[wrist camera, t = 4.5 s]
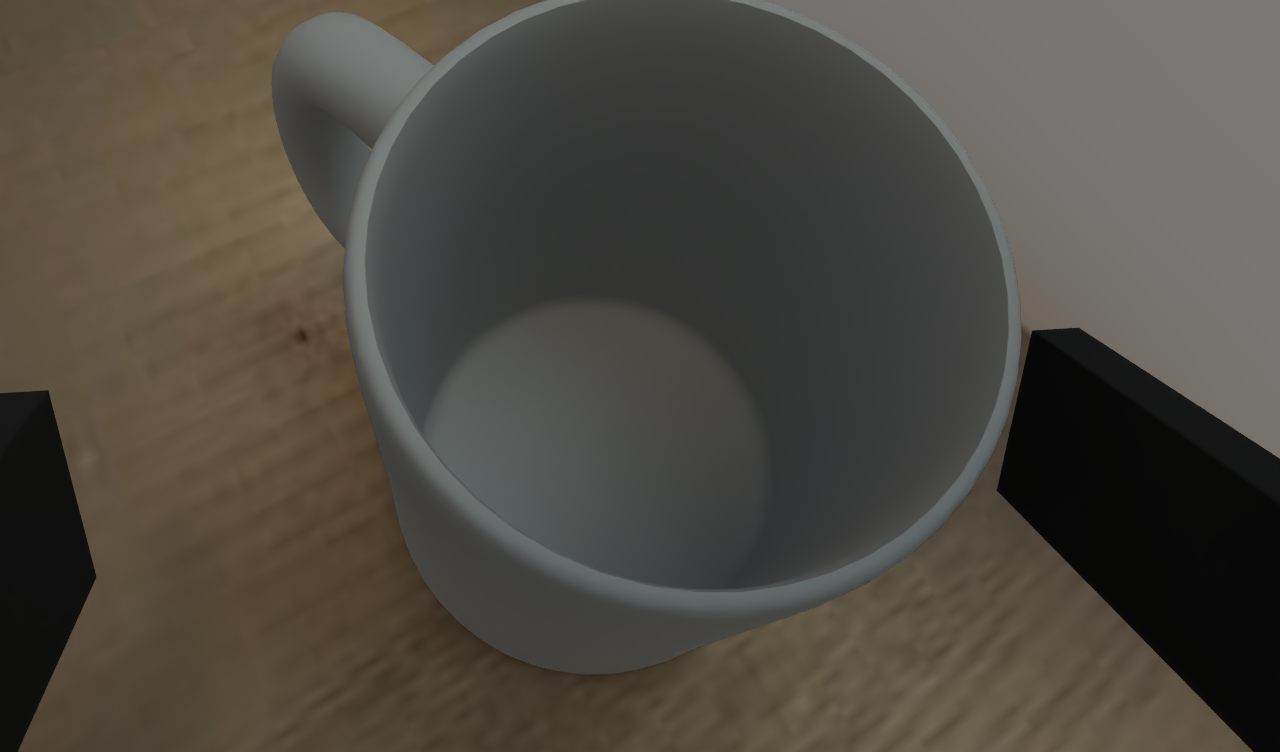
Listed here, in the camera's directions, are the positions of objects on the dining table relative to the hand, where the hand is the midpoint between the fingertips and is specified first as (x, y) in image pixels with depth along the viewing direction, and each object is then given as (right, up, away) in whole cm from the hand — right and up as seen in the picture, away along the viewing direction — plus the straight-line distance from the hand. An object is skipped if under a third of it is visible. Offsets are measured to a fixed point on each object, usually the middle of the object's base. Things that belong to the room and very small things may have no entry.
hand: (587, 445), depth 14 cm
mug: (-2, 0, +9) cm, 9 cm away
